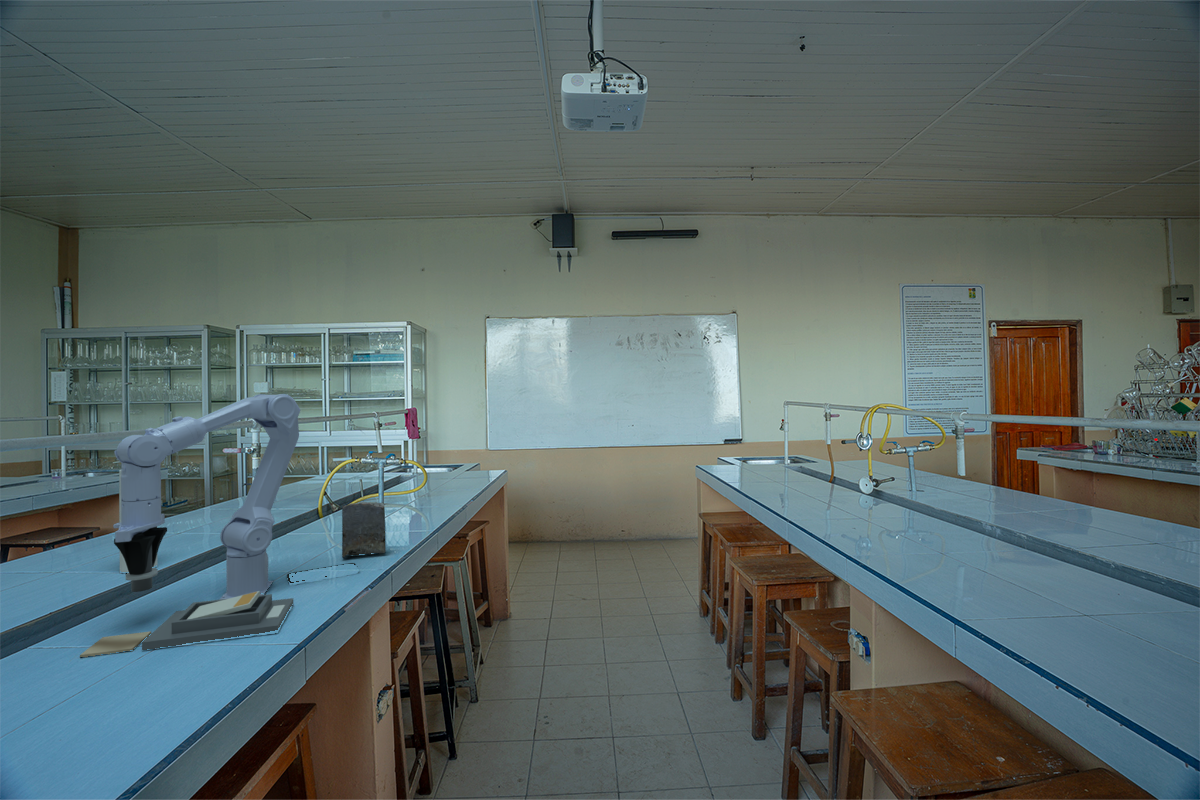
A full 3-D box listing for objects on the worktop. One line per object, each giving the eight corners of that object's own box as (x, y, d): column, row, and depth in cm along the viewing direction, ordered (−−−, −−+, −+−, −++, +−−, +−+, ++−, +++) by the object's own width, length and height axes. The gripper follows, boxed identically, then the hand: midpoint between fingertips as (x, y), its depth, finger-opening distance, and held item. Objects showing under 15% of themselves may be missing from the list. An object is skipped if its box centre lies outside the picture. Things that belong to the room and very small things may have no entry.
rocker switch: (200, 610, 102) (199, 605, 102) (260, 594, 105) (259, 590, 105) (186, 624, 95) (185, 620, 95) (250, 607, 98) (249, 603, 98)
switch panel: (176, 618, 103) (176, 600, 103) (293, 605, 110) (293, 588, 110) (141, 651, 90) (141, 630, 90) (277, 633, 97) (277, 614, 97)
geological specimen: (385, 551, 149) (385, 497, 149) (385, 557, 143) (385, 501, 143) (342, 555, 145) (342, 500, 144) (341, 562, 139) (341, 504, 139)
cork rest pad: (102, 639, 94) (102, 637, 94) (151, 634, 97) (151, 631, 97) (79, 658, 88) (79, 655, 88) (132, 651, 90) (132, 648, 90)
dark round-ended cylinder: (132, 586, 102) (132, 539, 102) (162, 583, 104) (161, 537, 104) (120, 594, 98) (120, 545, 98) (151, 591, 99) (151, 543, 99)
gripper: (133, 493, 106) (134, 561, 106) (93, 507, 92) (93, 586, 93) (176, 491, 108) (177, 558, 109) (143, 504, 95) (143, 581, 95)
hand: (141, 570), depth 101 cm, fingers closed on dark round-ended cylinder, 3 cm apart
